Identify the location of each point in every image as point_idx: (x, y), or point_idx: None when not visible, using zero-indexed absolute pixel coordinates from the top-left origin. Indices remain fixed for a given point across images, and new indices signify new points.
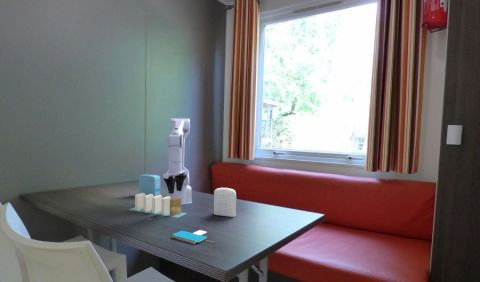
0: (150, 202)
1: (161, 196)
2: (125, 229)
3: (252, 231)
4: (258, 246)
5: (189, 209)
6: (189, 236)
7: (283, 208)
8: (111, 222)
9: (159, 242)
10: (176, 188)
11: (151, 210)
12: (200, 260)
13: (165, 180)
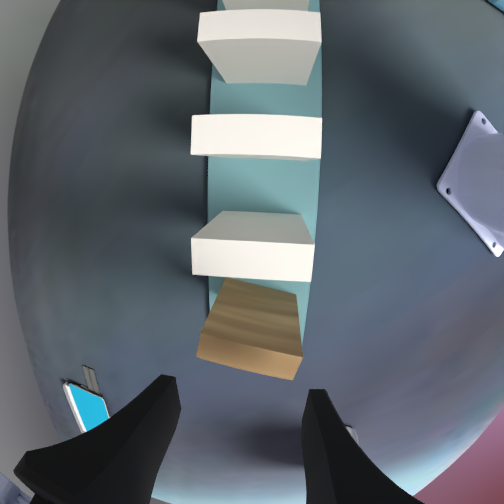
0: (271, 64)
1: (309, 157)
2: (19, 206)
3: (219, 497)
4: (156, 495)
5: (395, 304)
6: (92, 420)
7: (418, 488)
8: (46, 82)
9: (37, 362)
10: (312, 403)
11: (269, 93)
12: (59, 436)
13: (48, 462)
